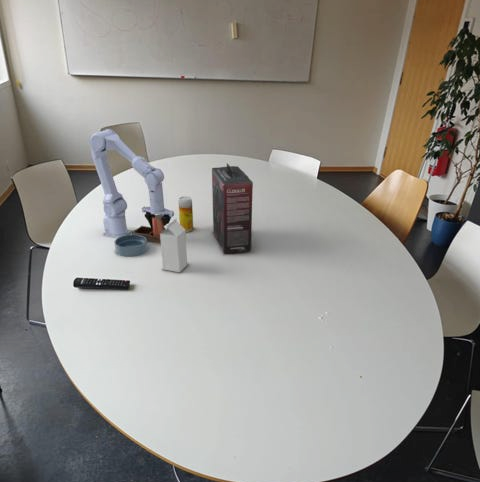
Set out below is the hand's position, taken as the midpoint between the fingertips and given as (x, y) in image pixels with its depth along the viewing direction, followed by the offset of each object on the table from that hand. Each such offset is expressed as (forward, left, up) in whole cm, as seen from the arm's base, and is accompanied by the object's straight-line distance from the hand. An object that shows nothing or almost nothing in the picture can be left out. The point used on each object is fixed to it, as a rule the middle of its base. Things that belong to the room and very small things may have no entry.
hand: (159, 229), depth 188 cm
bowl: (-6, -14, -5) cm, 16 cm away
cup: (0, 0, -2) cm, 2 cm away
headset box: (+29, +11, -5) cm, 32 cm away
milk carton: (+18, -20, -5) cm, 27 cm away
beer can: (+5, +15, -5) cm, 17 cm away
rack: (-4, 0, -5) cm, 6 cm away
